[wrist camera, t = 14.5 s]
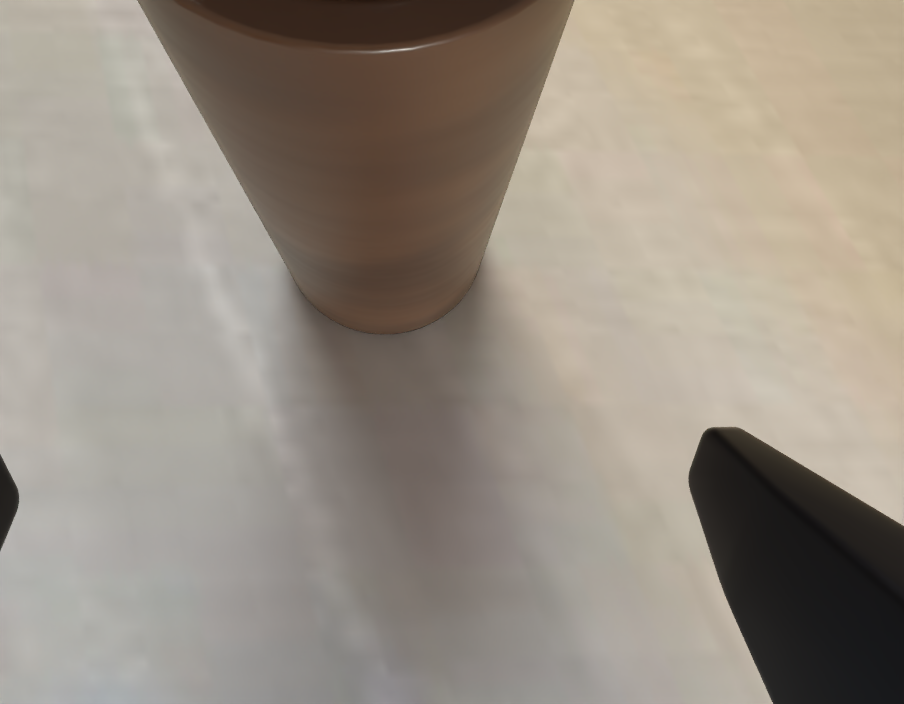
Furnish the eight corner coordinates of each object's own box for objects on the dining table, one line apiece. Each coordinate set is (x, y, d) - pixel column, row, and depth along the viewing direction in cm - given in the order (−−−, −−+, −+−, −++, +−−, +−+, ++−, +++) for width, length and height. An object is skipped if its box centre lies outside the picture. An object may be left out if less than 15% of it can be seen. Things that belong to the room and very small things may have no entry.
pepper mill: (397, 375, 16) (371, -29, 3) (243, 249, 16) (-329, -554, 4) (520, 230, 17) (857, -486, 4) (373, 117, 17) (292, -841, 5)
